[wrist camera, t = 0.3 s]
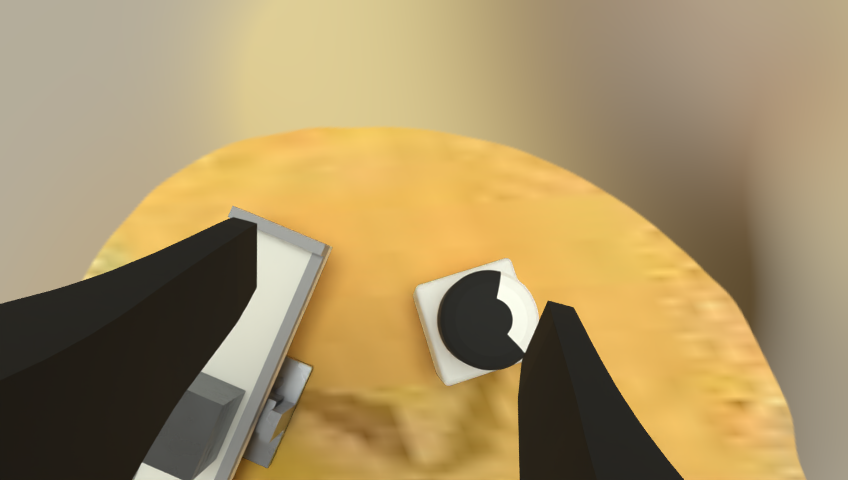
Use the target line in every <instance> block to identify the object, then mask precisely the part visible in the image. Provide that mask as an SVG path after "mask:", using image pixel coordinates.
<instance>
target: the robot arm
mask: <svg viewBox="0 0 848 480" xmlns="http://www.w3.org/2000/svg"><path fill="white" fill-rule="evenodd" d="M256 288H257V223H254V222H251V221H247V220H243V219H239V218H236V217H232V218H230V219H227V220H225V221H223V222H220V223H218V224H216V225H214V226H212V227H210V228H207V229H205V230H203V231H201V232H199V233H197V234H195V235H193V236H191V237H188V238H186V239H184V240H182V241H180V242H178V243H175V244H173V245H171V246H169V247H167V248H164V249H162V250H160V251H158V252H156V253H153V254H151V255H148V256H146V257H143V258H141V259H139V260H136V261H134V262H131V263H129V264H126V265H124V266H122V267H119V268H117V269H114V270H112V271H109V272H106V273H104V274H101V275H98V276H95V277H92V278H89V279H86V280H83V281H80V282H77V283H74V284H71V285H68V286H65V287H62V288H58V289H55V290H51V291H48V292H44V293H40V294H36V295H32V296H29V297H25V298H21V299H17V300H14V301H10V302H6V303H3V304H0V480H132V479H133V477H134V476H135V474H136V472H137V470H138V469H139V467H140V465H141V463H142V462H143V460H144V458H145V456H146V455H147V453H148V451H149V449H150V448H151V446H152V444H153V443H154V441H155V439H156V438H157V436H158V434H159V433H160V431H161V429H162V428H163V426H164V424H165V423H166V421H167V419H168V418H169V416H170V414H171V413H172V411H173V409H174V408H175V406H176V405H177V404H178V402H179V401H180V399H181V398H182V396H183V395H184V393H185V392H186V391H187V389H188V388H189V387H190V385H191V384H192V383H193V381H194V380H195V379H196V377H197V376H198V375H199V373H200V372H201V371H202V369H203V368H204V367H205V365H206V364H207V363H208V361H209V360H210V359H211V357H212V356H213V355H214V353H215V352H216V351H217V349H218V348H219V347H220V345H221V344H222V343H223V341H224V340H225V339H226V337H227V336H228V335H229V333H230V332H231V331H232V329H233V328H234V326H235V325H236V324H237V322H238V321H239V319H240V317H241V316H242V314H243V312H244V310H245V309H246V307H247V305H248V303H249V301H250V300H251V298H252V296H253V294H254V292H255V290H256ZM518 425H519V467H520V480H684V479H683V478H682V477H681V475H680V474H679V473H678V472H677V471H676V469H675V468H674V467H673V466H672V464H671V463H670V462H669V461H668V460H667V458H666V457H665V456H664V454H663V453H662V452H661V450H660V449H659V448H658V446H657V445H656V444H655V442H654V441H653V440H652V439H651V437H650V436H649V435H648V433H647V432H646V430H645V429H644V428H643V426H642V425H641V423H640V422H639V421H638V419H637V418H636V416H635V415H634V413H633V412H632V410H631V409H630V407H629V405H628V404H627V402H626V401H625V399H624V398H623V396H622V395H621V393H620V392H619V390H618V388H617V387H616V385H615V383H614V382H613V380H612V378H611V376H610V375H609V373H608V371H607V369H606V368H605V366H604V364H603V362H602V361H601V359H600V357H599V355H598V353H597V351H596V349H595V348H594V346H593V344H592V342H591V340H590V338H589V336H588V334H587V332H586V330H585V328H584V326H583V325H582V323H581V321H580V319H579V317H578V315H577V313H576V311H575V309H574V308H573V307H570V306H566V305H563V304H559V303H555V302H551V301H548V302H547V304H546V306H545V309H544V311H543V313H542V315H541V318H540V320H539V322H538V325H537V327H536V329H535V331H534V334H533V336H532V338H531V340H530V343H529V345H528V347H527V350H526V352H525V354H524V356H523V359H522V365H521V374H520V383H519V393H518Z"/></svg>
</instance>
